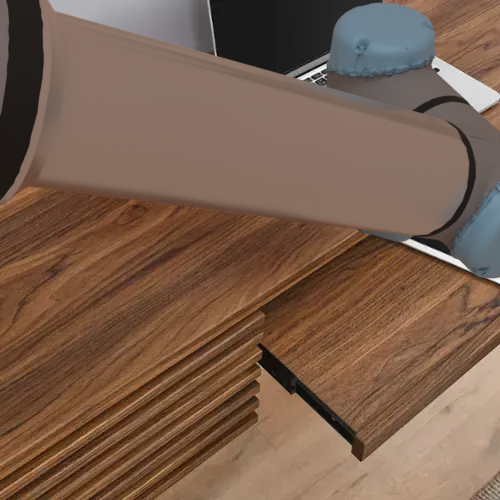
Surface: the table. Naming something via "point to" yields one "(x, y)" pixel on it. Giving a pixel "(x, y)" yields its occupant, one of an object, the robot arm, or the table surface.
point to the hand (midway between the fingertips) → (63, 80)
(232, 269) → the table surface
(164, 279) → the table surface
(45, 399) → the table surface
